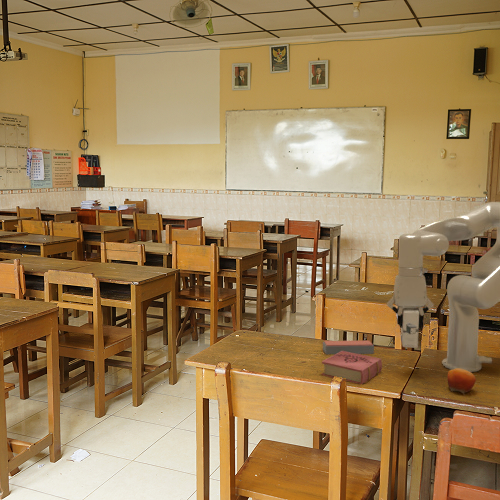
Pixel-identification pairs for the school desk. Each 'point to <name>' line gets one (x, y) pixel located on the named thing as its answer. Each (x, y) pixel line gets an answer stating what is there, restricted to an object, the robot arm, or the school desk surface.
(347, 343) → the pencil case
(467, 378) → the fruit
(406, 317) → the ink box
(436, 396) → the school desk surface
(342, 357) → the book
